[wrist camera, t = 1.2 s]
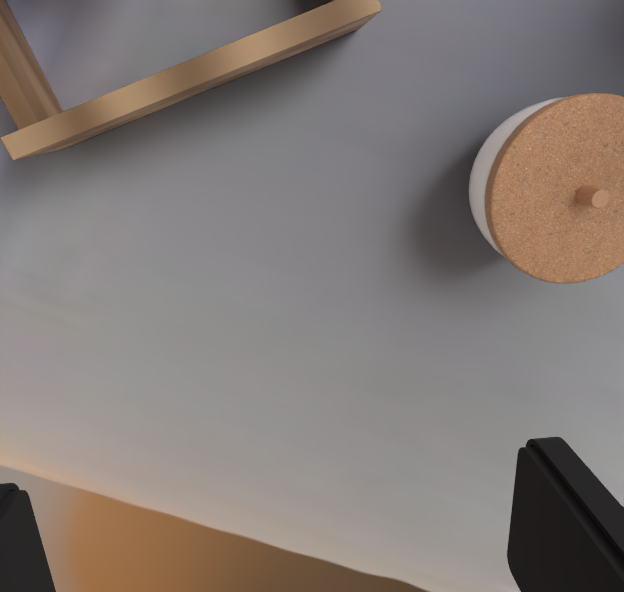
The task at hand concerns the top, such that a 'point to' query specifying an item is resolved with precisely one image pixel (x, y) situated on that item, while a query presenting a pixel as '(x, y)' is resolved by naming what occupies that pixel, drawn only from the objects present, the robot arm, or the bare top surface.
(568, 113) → the lidded jar
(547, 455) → the robot arm
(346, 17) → the frame
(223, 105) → the top surface
